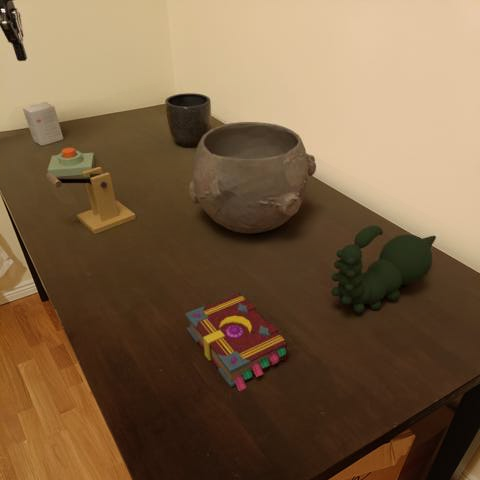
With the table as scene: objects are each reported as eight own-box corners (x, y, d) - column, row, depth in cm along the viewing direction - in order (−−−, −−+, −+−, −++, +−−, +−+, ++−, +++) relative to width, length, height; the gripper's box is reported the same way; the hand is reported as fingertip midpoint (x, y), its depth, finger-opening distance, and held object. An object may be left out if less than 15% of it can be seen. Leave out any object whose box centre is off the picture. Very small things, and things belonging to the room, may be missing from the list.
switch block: (49, 177, 121) (45, 163, 119) (54, 162, 128) (50, 149, 126) (93, 174, 123) (89, 160, 120) (95, 159, 130) (92, 146, 127)
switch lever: (54, 189, 90) (55, 178, 89) (45, 181, 93) (45, 170, 92) (108, 189, 98) (108, 178, 97) (98, 181, 101) (98, 171, 100)
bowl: (172, 242, 97) (160, 156, 84) (219, 187, 117) (216, 109, 103) (287, 267, 91) (295, 177, 77) (317, 204, 110) (328, 123, 96)
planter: (188, 131, 147) (185, 90, 138) (221, 140, 141) (219, 98, 132) (160, 144, 138) (155, 101, 129) (193, 154, 132) (190, 110, 124)
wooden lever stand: (94, 234, 100) (82, 187, 92) (78, 219, 105) (64, 173, 97) (136, 218, 105) (127, 172, 97) (118, 204, 110) (108, 159, 102)
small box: (56, 135, 144) (46, 101, 137) (64, 139, 141) (54, 105, 134) (33, 141, 140) (21, 107, 133) (41, 146, 137) (30, 111, 130)
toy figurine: (352, 337, 78) (444, 280, 86) (366, 255, 64) (474, 197, 73) (318, 308, 84) (407, 258, 92) (324, 227, 70) (429, 176, 78)
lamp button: (62, 159, 122) (60, 153, 120) (64, 154, 124) (62, 148, 123) (75, 158, 122) (74, 152, 121) (76, 153, 125) (75, 147, 123)
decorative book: (240, 309, 81) (240, 289, 78) (291, 364, 71) (294, 344, 68) (186, 332, 77) (184, 311, 73) (233, 394, 67) (233, 373, 63)
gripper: (-15, -29, 102) (12, 54, 114) (-30, -23, 93) (1, 67, 105) (18, -30, 103) (41, 53, 115) (7, -24, 94) (33, 66, 106)
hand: (22, 60), depth 110 cm, fingers closed
